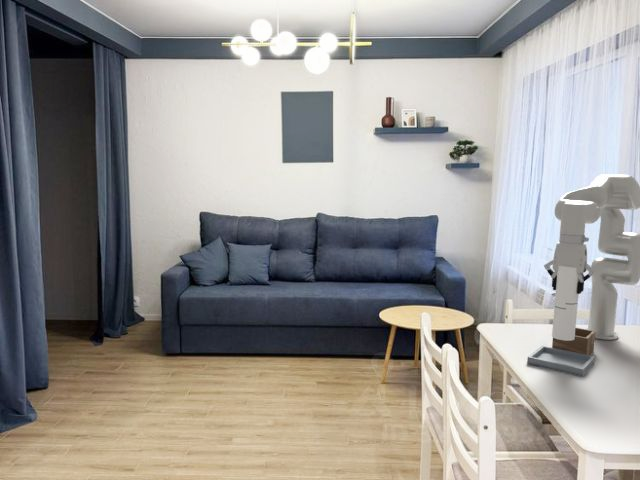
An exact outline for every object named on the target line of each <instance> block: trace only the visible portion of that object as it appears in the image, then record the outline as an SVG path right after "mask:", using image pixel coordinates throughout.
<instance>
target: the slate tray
mask: <svg viewBox="0 0 640 480" xmlns="http://www.w3.org/2000/svg"><path fill="white" fill-rule="evenodd" d="M595 362H596V356H594V355H590V356H589V355H585V354H580V353H575V352H570V351H566V350H561V349H556V348H552V347H550V346H547V345H541V346H539V348H537V349H536V350H535V351H533V352H532V353H530V354H529V355H528V356H527V362H526V365H530V366H535V367H539V368H541V369H542V368H544V369H548V370H551V371H557V372H560V373H564V374H565V373H566V374H569V375H573V376H577V377H583V378H584V376H586V374H587V373H588V372H589V370H591V368H592V367H593V366H594V365H595Z"/></svg>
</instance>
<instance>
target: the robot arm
mask: <svg viewBox="0 0 640 480" xmlns="http://www.w3.org/2000/svg"><path fill="white" fill-rule="evenodd" d="M638 209H640V184H639V182H638V181H637V180H636V178H635V177H633V176H631V175H628V174H611V173H610V174H608V173H607V174H606V173H605V174H600V175H599V176H596V177H595V179H593V180H592V182H591V183H590V184H589V185H588V186H587V187H582V188H579V189H577V190H576V189H575V190H573V191H570V192H567V193H565V194H564V195H562V196H561V197H560V199H558V201H557V203H556V204H555V207H554V215H555V218H556V219H557V220H558V221H560V228H559V241H557V243H556V245H555V248H554V249H555V250H554V253H553V259H552V260H551V261H549V262H547V263H545V264H544V265H543V267H544V269H545V270H546V271H547V274H548V275H550V278H551V281H552V282H551V287H552V291H556V282H557V272H558V268H559V266H567V267H575V268H576V272H577V274H578V278H579V282H578V288H577V293H578V295H580V294H582V292H584V287H585V281H587V280H588V279H590V278H591V291H590V293H591V295H590V303H589V305H590V306H589V312H588V313H589V315H588V323H587V324H588V325H587V326H588V327H587V328H585V329H586V330H592V331H595V339H598V340H603V341H604V340H606V341H611V340H612V341H613V340H617V339H618V338H619V334H618V333H617V332H615V328H616V327H615V326H616V315H617V306H618V298H619V295H618V291H617V289H616V287H615V285H614V284H618V285H625V286H636V285H637V284H639V281H640V234H639V233H637V232H631V231H625V225H626V224H625V222H626V218H625V216H624V214H623V212H622V210H631V211H632V210H633V211H634V210H638ZM599 219H600V223H599V224H600V225H599V233H598V240H597V241H598V244H597V247H598V251H599V252H600V253H601V254H604V255H605V254H606V255H609V256H617V257H618V256H619V257H626V258H627V260H626V259H620V258H615V257H614V258H611V257H598V258H595V259H593V260H592V262H591V265H589V264H588V249H587V244H586V242H589V240H590V238H589V237H587V236H586V235H585V234H586V233H585V231H586V230H585V229H586V224H588V225H589V224H594V223H596V222H598V220H599ZM551 266H552V268H551ZM587 271H588V273H587V274H586V275H585V274H584V273H586V272H587Z"/></svg>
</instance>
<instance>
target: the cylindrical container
mask: <svg viewBox="0 0 640 480" xmlns="http://www.w3.org/2000/svg"><path fill="white" fill-rule="evenodd" d="M578 282H579V278H578V274H577V272H576V268H575V267H567V266H559V268H558V272H557V282H556V290H555V296H554V297H555V298H554V307H553V308H554V309H553V320H552V329H551V330H552V331H551V336H552V339H553V338H556V339H559V340H565V341H571V340H574V339H575V327H576V328H577V316H578V315H577V313H578V305H579V304H578V302H579V294H578V293H577V288H578Z"/></svg>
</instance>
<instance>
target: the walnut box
mask: <svg viewBox="0 0 640 480" xmlns="http://www.w3.org/2000/svg"><path fill="white" fill-rule="evenodd" d="M586 329H587V328H581V327H577V326H576V327H575V339H574V340H571V341H565V340H559V339H556V338H553V337H552V343H551V346H552V347H551V348H556V349H561V350H566V351H570V352H575V353H580V354H585V355H589V356H592V354H593V353H594V351H595V340H596V338H595V331H592V330H586Z"/></svg>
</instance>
